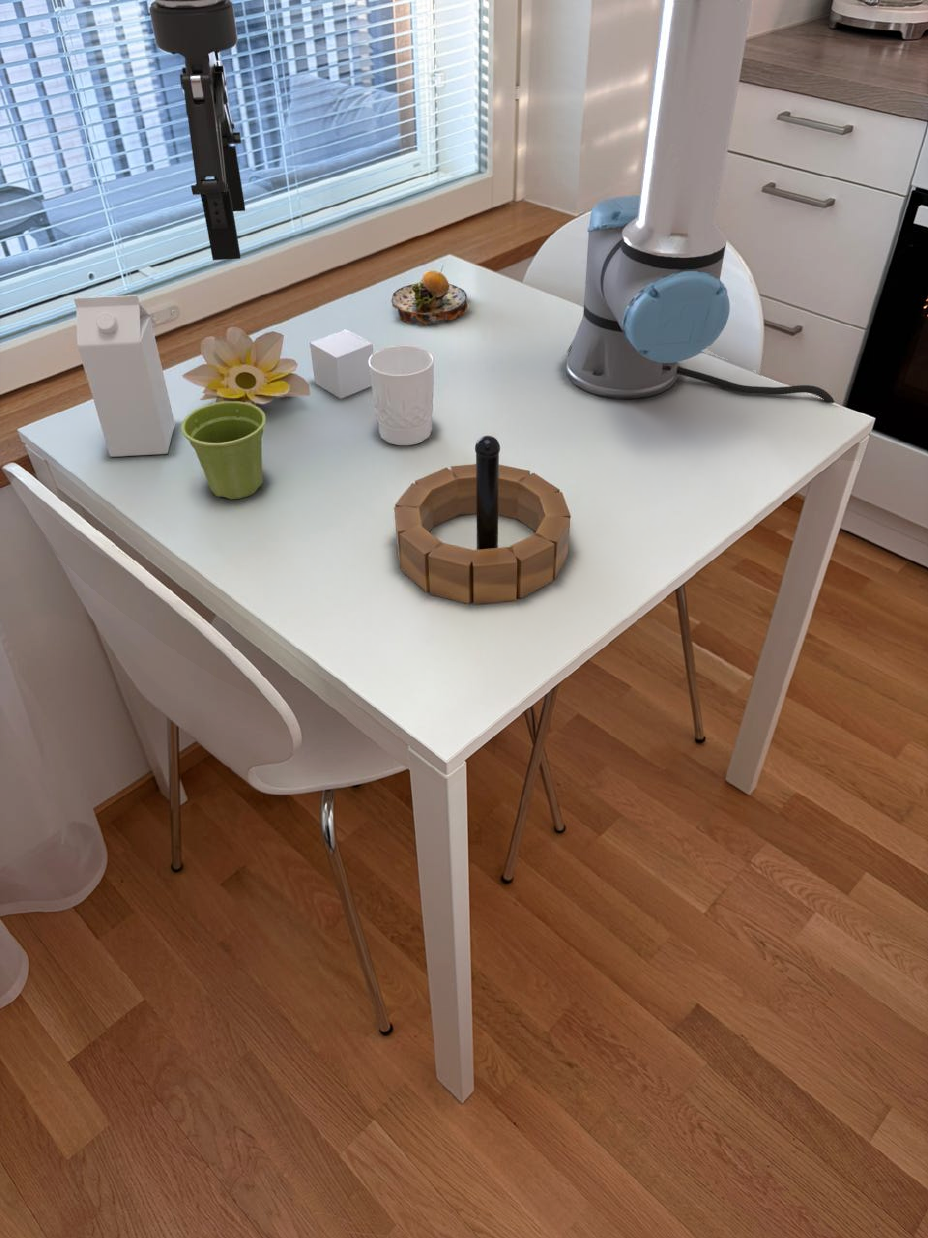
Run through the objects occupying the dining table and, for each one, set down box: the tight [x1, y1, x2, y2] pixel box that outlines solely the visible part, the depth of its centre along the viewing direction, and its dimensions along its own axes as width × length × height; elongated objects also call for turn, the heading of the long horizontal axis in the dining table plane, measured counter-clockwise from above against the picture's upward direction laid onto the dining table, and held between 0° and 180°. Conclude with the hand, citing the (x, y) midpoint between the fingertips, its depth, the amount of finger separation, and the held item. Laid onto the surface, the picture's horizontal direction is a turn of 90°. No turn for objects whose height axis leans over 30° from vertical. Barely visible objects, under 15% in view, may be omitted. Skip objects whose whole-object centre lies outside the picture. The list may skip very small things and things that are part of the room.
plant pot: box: [180, 401, 267, 500], centre depth 115 cm, size 9×9×9 cm
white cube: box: [309, 328, 375, 400], centre depth 134 cm, size 6×6×6 cm
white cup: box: [369, 344, 435, 446], centre depth 123 cm, size 8×8×10 cm
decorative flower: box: [181, 325, 312, 406], centre depth 128 cm, size 15×11×10 cm
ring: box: [393, 463, 572, 605], centre depth 106 cm, size 18×18×5 cm
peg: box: [474, 435, 501, 550], centre depth 100 cm, size 4×4×16 cm
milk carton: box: [73, 294, 176, 457], centre depth 119 cm, size 7×7×19 cm
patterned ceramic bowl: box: [390, 266, 468, 325], centre depth 151 cm, size 12×12×8 cm
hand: (229, 233), depth 104 cm, fingers open, 13 cm apart
